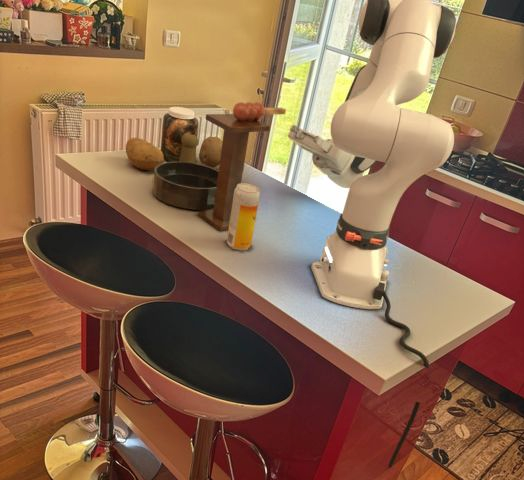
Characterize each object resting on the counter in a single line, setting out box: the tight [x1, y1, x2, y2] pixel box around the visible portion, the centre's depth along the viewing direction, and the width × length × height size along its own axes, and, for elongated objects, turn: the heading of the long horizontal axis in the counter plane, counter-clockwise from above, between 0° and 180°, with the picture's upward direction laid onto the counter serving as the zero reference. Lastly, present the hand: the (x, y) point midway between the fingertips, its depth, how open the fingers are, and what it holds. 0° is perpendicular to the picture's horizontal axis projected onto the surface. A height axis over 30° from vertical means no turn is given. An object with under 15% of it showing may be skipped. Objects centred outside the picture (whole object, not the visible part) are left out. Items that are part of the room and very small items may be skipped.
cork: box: [179, 134, 199, 163], centre depth 169 cm, size 6×6×11 cm
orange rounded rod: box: [232, 101, 287, 121], centre depth 134 cm, size 16×4×4 cm, turn 131°
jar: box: [160, 106, 200, 162], centre depth 176 cm, size 12×12×15 cm
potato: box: [125, 137, 165, 172], centre depth 164 cm, size 10×14×8 cm
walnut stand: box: [197, 113, 271, 232], centre depth 139 cm, size 12×10×26 cm
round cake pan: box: [152, 161, 219, 211], centre depth 153 cm, size 20×20×6 cm
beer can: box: [226, 182, 261, 251], centre depth 131 cm, size 6×6×15 cm
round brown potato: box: [198, 136, 223, 169], centre depth 175 cm, size 9×9×10 cm
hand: (304, 133), depth 148 cm, fingers open, 8 cm apart
